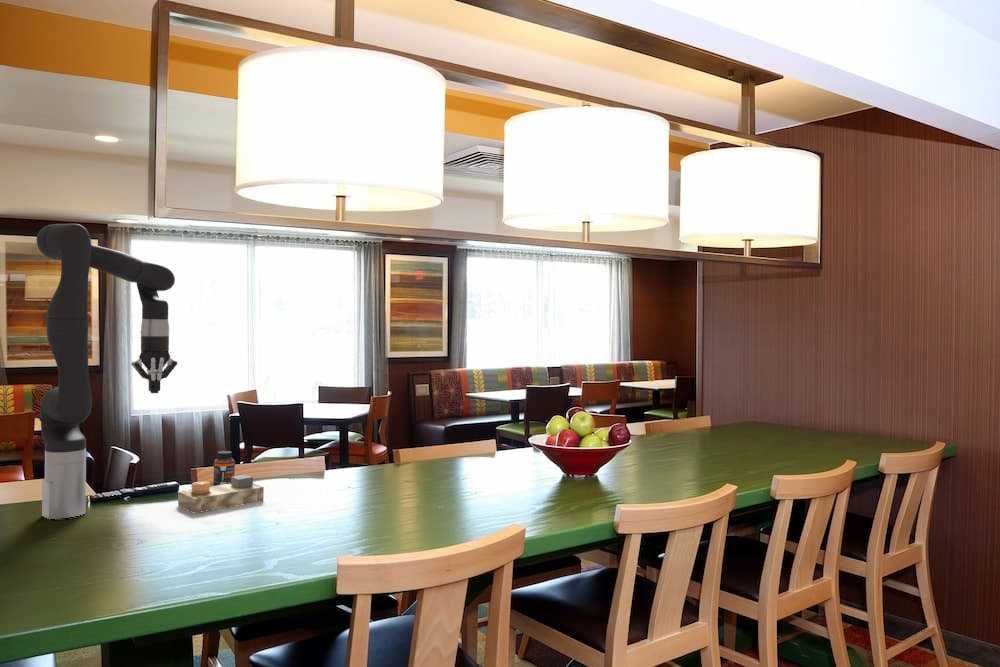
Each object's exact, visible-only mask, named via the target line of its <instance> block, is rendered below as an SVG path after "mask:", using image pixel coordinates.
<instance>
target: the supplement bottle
mask: <svg viewBox="0 0 1000 667" xmlns="http://www.w3.org/2000/svg"><path fill="white" fill-rule="evenodd" d="M232 453H233V452H232V451H230V450H221V451H218V452H217V458H215V459H214V462H213V486H217V485H223V484H230V483H231V477H233V476H236V475H235V473H236V472H235V471H236V470H235V468H236V463H235V462H236V461H235V459H234V458H233V456H232Z"/></svg>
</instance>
